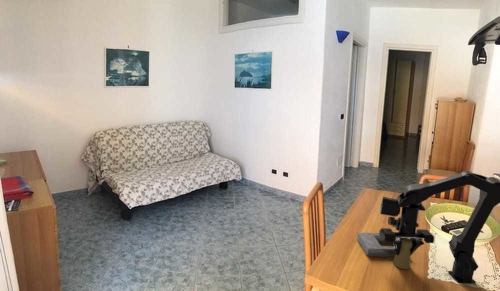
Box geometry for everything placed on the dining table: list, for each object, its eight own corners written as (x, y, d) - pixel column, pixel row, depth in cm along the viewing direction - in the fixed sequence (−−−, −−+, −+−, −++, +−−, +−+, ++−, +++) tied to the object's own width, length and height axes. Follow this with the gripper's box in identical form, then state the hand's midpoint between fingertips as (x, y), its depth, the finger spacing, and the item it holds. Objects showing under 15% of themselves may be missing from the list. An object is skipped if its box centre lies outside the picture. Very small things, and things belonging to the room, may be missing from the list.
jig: (408, 257, 128) (409, 249, 128) (367, 256, 128) (368, 248, 128) (394, 240, 141) (395, 233, 140) (356, 239, 141) (357, 232, 140)
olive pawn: (395, 258, 127) (399, 233, 125) (411, 264, 123) (416, 238, 121) (391, 264, 123) (395, 239, 120) (408, 271, 119) (412, 245, 116)
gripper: (422, 210, 126) (416, 244, 130) (376, 208, 126) (371, 243, 130) (438, 222, 116) (431, 260, 119) (387, 221, 116) (382, 259, 119)
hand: (403, 255), depth 122 cm, fingers closed on olive pawn, 4 cm apart
